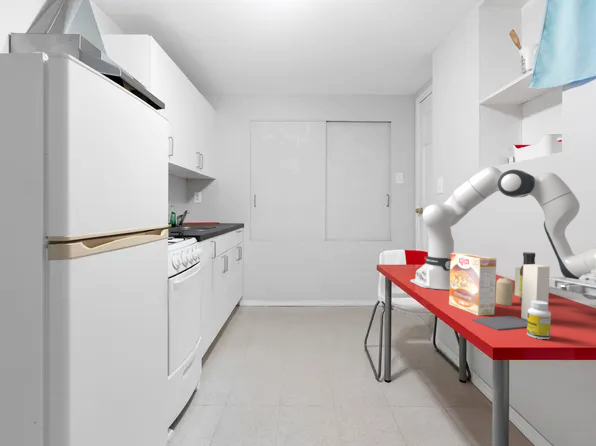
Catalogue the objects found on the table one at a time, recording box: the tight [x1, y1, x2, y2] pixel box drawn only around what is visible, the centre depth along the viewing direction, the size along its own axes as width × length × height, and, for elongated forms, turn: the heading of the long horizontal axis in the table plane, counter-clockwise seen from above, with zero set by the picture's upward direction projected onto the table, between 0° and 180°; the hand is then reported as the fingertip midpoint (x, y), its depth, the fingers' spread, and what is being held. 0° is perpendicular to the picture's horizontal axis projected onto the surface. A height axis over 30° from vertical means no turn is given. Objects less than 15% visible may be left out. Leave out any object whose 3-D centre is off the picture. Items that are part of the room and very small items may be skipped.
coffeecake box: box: [448, 252, 497, 317], centre depth 125 cm, size 15×7×20 cm, turn 14°
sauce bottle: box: [518, 251, 536, 304], centre depth 137 cm, size 6×6×20 cm
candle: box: [495, 277, 514, 306], centre depth 135 cm, size 6×6×10 cm
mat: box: [471, 315, 527, 331], centre depth 110 cm, size 10×16×1 cm, turn 106°
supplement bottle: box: [526, 300, 552, 340], centre depth 98 cm, size 5×5×10 cm
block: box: [520, 263, 551, 321], centre depth 113 cm, size 5×5×18 cm
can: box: [513, 267, 521, 297], centre depth 150 cm, size 9×9×12 cm
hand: (564, 287), depth 116 cm, fingers closed
